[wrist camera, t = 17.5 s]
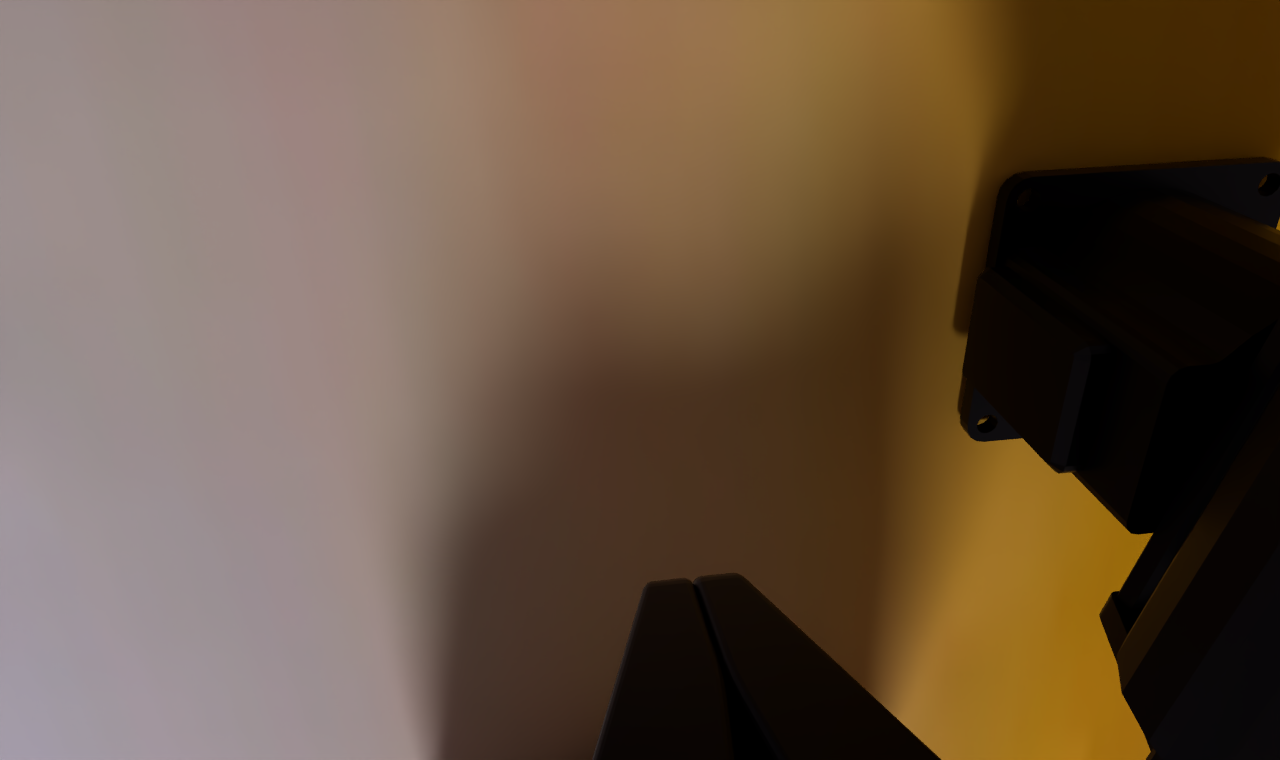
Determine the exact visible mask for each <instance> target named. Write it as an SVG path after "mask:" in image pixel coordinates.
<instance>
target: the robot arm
mask: <svg viewBox="0 0 1280 760" xmlns="http://www.w3.org/2000/svg"><path fill="white" fill-rule="evenodd" d="M1266 175H1267V180H1266V182H1265V183H1264V185H1263V186H1262V187H1261V188H1259V189H1258V185H1259V183H1260V182H1261V180H1262V179H1263V178H1264V177H1265V176H1266ZM1030 188H1031V195H1030V197H1029V200H1028V201H1027V202H1026V203H1025V204H1024V205H1021V206H1018V205H1017V200H1018V198H1019V196H1020V194H1021V193H1022V192H1024V191H1025V190H1027V189H1030ZM1279 218H1280V161H1277V160H1274V159H1271V158H1266V157H1256V158H1240V159H1223V160H1207V161H1191V162H1175V163H1158V164H1142V165H1126V166H1109V167H1093V168H1077V169H1060V170H1044V171H1028V172H1021V173H1017V174H1014V175H1013V176H1011V177H1010V178H1008V179H1007V180H1006V181H1005V182H1004V184H1003V185H1002V186H1001V187H1000V190H999V193H998V196H997V201H996V207H995V213H994V219H993V225H992V231H991V237H990V243H989V249H988V255H987V261H986V267H985V270H984V271H983V272H982V273H981V275H980V276H979V277H978V279H977V284H976V290H975V296H974V303H973V309H972V315H971V321H970V327H969V333H968V339H967V345H966V351H965V357H964V363H963V369H962V373H963V376H964V377H965V378H966V379H967V380H966V386H965V392H964V397H963V403H962V409H961V415H960V423H961V426H962V427H963V429H964V430H965V431H966V432H967V434H968V435H969V436H970V437H971V438H972V439H974V440H976V441H983V442H986V441H996V440H1007V439H1018V438H1023V439H1024V440H1025V441H1026V442H1027V443H1028V444H1029V445H1030V446H1031V447H1032V448H1033V450H1034V451H1035V452H1036V453H1037V454H1038V455H1039V456H1040V457H1041V458H1042V459H1043V460H1044V461H1045V462H1046V463H1047V464H1048V465H1049V466H1050V467H1051V468H1052V469H1053V470H1054V471H1055V472H1057V473H1069V472H1071V473H1072V474H1073V475H1074V476H1075V477H1076V478H1077V479H1078V480H1079V481H1080V482H1081V483H1082V484H1083V485H1084V486H1085V487H1086V488H1087V489H1088V490H1089V491H1090V492H1091V493H1092V494H1093V495H1094V496H1095V497H1096V498H1097V499H1098V500H1099V501H1100V502H1101V503H1102V504H1103V505H1104V506H1105V507H1106V508H1107V509H1108V510H1109V511H1110V512H1111V513H1112V514H1113V515H1114V517H1115V518H1116V519H1117V520H1118V521H1119V522H1120V523H1121V524H1122V525H1123V526H1124V527H1125V528H1126V529H1127V530H1128V531H1129V532H1130V533H1132V534H1146V533H1153V535H1152V536H1151V538H1150V540H1149V542H1148V543H1147V545H1146V547H1145V548H1144V550H1143V552H1142V554H1141V555H1140V557H1139V559H1138V560H1137V562H1136V564H1135V566H1134V567H1133V569H1132V571H1131V572H1130V574H1129V576H1128V578H1127V579H1126V581H1125V583H1124V584H1123V586H1122V588H1121V590H1120V591H1115V592H1113V593H1111V595H1110V597H1109V598H1108V600H1107V602H1106V604H1105V605H1104V607H1103V609H1102V611H1101V612H1100V614H1099V615H1100V619H1101V622H1102V625H1103V627H1104V630H1105V633H1106V635H1107V638H1108V640H1109V643H1110V646H1111V648H1112V651H1113V654H1114V656H1115V659H1116V661H1117V664H1118V670H1119V677H1120V684H1121V691H1122V694H1123V696H1124V698H1125V700H1126V702H1127V703H1128V705H1129V707H1130V709H1131V711H1132V713H1133V714H1134V716H1135V718H1136V720H1137V722H1138V723H1139V725H1140V727H1141V729H1142V731H1143V733H1144V735H1145V737H1146V740H1147V743H1148V745H1149V748H1150V751H1151V752H1150V754H1149V755H1148V757H1147V758H1146V760H1280V231H1279V230H1277V229H1276V227H1277V224H1278V221H1279ZM986 415H990V416H989V418H988V420H986V421H985V422H984V423H982V424H979V425H977V424H978V422H979V420H980V419H981V418H982V417H984V416H986ZM592 760H941V759H940V758H939V757H938V756H937V755H936V754H935V753H934V752H932V751H931V750H930V749H929V748H928V747H927V746H926V745H925V744H924V743H923V742H922V741H921V740H920V739H918V738H917V737H916V736H915V735H914V734H913V733H912V732H911V731H910V730H909V729H908V728H907V727H905V726H904V725H903V724H902V723H901V722H900V721H899V720H898V719H897V718H896V717H895V716H894V715H892V714H891V713H890V712H889V711H888V710H887V709H886V708H885V707H884V706H883V705H882V704H881V703H880V702H878V701H877V700H876V699H875V698H874V697H873V696H872V695H871V694H870V693H869V692H868V691H867V690H865V689H864V688H863V687H862V686H861V685H860V684H859V683H858V682H857V681H856V680H855V679H854V678H853V677H851V676H850V675H849V674H848V673H847V672H846V671H845V670H844V669H843V668H842V667H841V666H840V665H838V664H837V663H836V662H835V661H834V660H833V659H832V658H831V657H830V656H829V655H828V654H827V653H825V652H824V651H823V650H822V649H821V648H820V647H819V646H818V645H817V644H816V643H815V642H814V641H813V640H811V639H810V638H809V637H808V636H807V635H806V634H805V633H804V632H803V631H802V630H801V629H800V628H798V627H797V626H796V625H795V624H794V623H793V622H792V621H791V620H790V619H789V618H788V617H787V616H786V615H784V614H783V613H782V612H781V611H780V610H779V609H778V608H777V607H776V606H775V605H774V604H773V603H771V602H770V601H769V600H768V599H767V598H766V597H765V596H764V595H763V594H762V593H761V592H760V591H758V590H757V589H756V588H755V587H754V586H753V585H752V584H751V583H750V582H749V581H748V580H747V579H746V578H744V577H743V576H741V575H739V574H737V573H727V574H717V575H708V576H700V577H698V578H696V579H695V581H694V582H693V583H692V582H691V581H690V580H688V579H686V578H680V579H670V580H661V581H652V582H649V583H647V584H646V585H645V587H644V588H643V591H642V594H641V598H640V601H639V604H638V608H637V611H636V614H635V618H634V621H633V624H632V628H631V631H630V634H629V638H628V641H627V645H626V648H625V651H624V655H623V658H622V661H621V665H620V668H619V671H618V675H617V678H616V681H615V685H614V688H613V691H612V695H611V698H610V701H609V705H608V708H607V712H606V715H605V718H604V722H603V725H602V728H601V732H600V735H599V738H598V742H597V745H596V748H595V752H594V755H593V758H592Z"/></svg>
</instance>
